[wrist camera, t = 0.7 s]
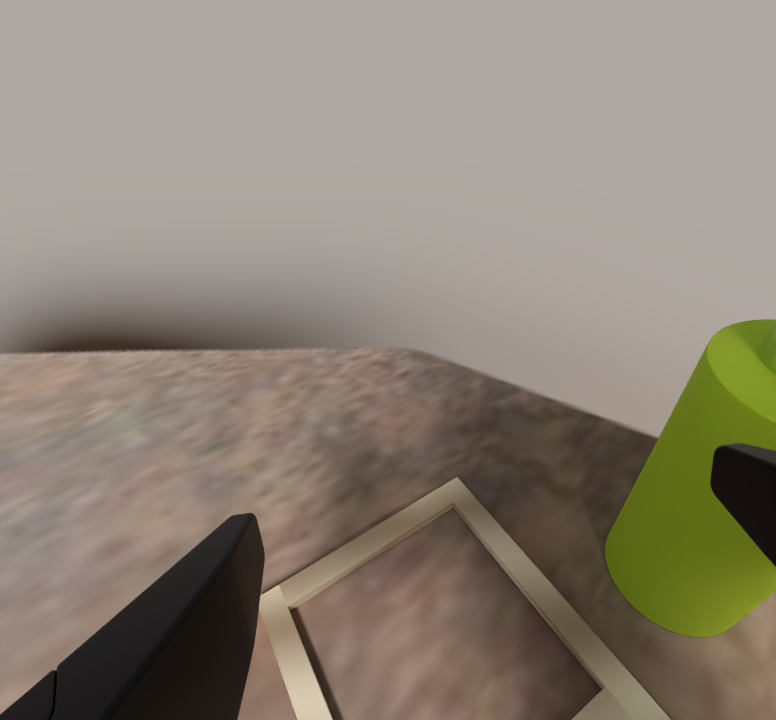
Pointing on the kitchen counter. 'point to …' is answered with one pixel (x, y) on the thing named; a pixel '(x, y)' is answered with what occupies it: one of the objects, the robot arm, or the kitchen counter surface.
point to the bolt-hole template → (619, 688)
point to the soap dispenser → (700, 495)
